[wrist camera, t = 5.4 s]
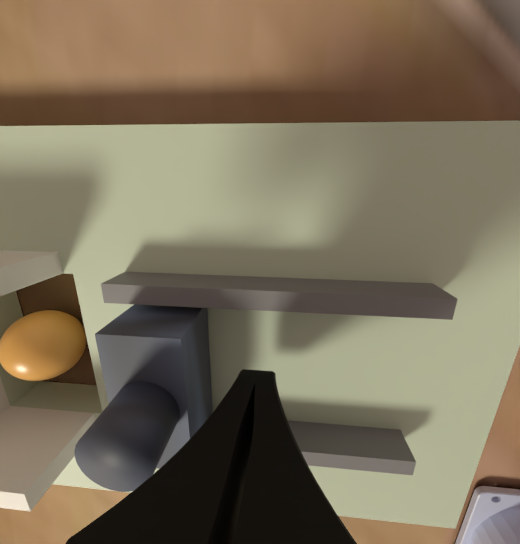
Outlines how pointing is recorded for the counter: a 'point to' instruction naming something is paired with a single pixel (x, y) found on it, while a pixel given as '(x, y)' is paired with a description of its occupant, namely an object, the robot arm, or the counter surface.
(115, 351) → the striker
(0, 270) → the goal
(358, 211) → the board
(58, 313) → the ball
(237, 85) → the counter surface
